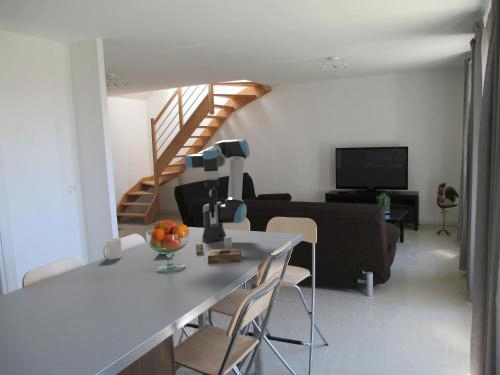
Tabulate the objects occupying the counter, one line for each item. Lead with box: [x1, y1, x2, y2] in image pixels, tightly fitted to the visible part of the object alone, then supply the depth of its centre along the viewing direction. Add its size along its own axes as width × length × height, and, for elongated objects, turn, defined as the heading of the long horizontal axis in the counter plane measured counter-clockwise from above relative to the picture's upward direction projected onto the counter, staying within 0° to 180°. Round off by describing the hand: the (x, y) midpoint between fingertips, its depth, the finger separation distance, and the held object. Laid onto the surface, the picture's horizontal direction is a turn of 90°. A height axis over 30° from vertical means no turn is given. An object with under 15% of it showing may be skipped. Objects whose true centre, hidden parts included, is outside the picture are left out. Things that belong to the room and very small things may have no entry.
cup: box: [102, 237, 123, 261], centre depth 224 cm, size 8×12×10 cm
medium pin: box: [223, 236, 233, 249], centre depth 225 cm, size 4×4×8 cm
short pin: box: [195, 242, 205, 255], centre depth 226 cm, size 4×4×5 cm
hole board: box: [207, 248, 243, 265], centre depth 209 cm, size 12×16×4 cm
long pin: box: [210, 204, 218, 228], centre depth 218 cm, size 4×4×12 cm
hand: (214, 222), depth 218 cm, fingers closed on long pin, 4 cm apart
